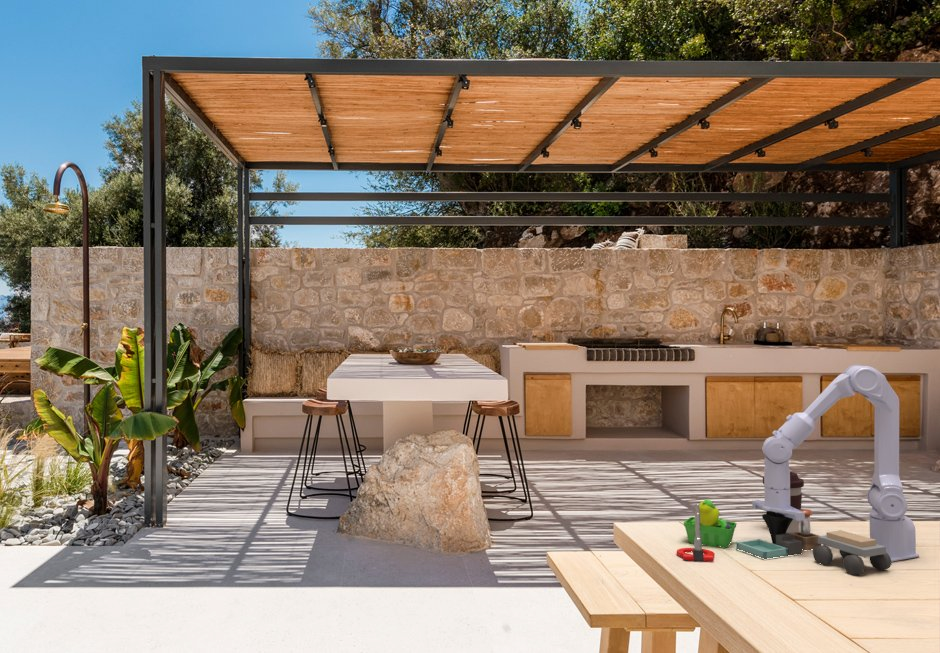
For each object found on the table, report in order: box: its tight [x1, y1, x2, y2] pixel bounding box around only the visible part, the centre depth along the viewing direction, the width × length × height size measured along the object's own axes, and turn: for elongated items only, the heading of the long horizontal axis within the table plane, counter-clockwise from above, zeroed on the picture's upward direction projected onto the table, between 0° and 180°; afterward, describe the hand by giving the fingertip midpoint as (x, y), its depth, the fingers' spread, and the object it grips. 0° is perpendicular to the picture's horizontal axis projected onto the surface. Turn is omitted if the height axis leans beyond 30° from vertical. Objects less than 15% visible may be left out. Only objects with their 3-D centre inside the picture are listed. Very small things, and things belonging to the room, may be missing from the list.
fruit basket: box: [682, 499, 738, 548], centre depth 185 cm, size 11×9×11 cm
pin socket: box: [790, 531, 822, 551], centre depth 181 cm, size 5×5×3 cm
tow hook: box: [676, 503, 715, 562], centre depth 175 cm, size 8×13×9 cm
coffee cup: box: [762, 471, 805, 533], centre depth 197 cm, size 10×10×15 cm
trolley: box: [812, 529, 892, 576], centre depth 166 cm, size 12×10×7 cm
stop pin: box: [798, 508, 813, 537], centre depth 181 cm, size 3×3×9 cm
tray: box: [735, 538, 789, 559], centre depth 176 cm, size 7×9×2 cm
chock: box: [776, 533, 803, 556], centre depth 177 cm, size 4×4×4 cm
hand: (777, 544), depth 180 cm, fingers closed
